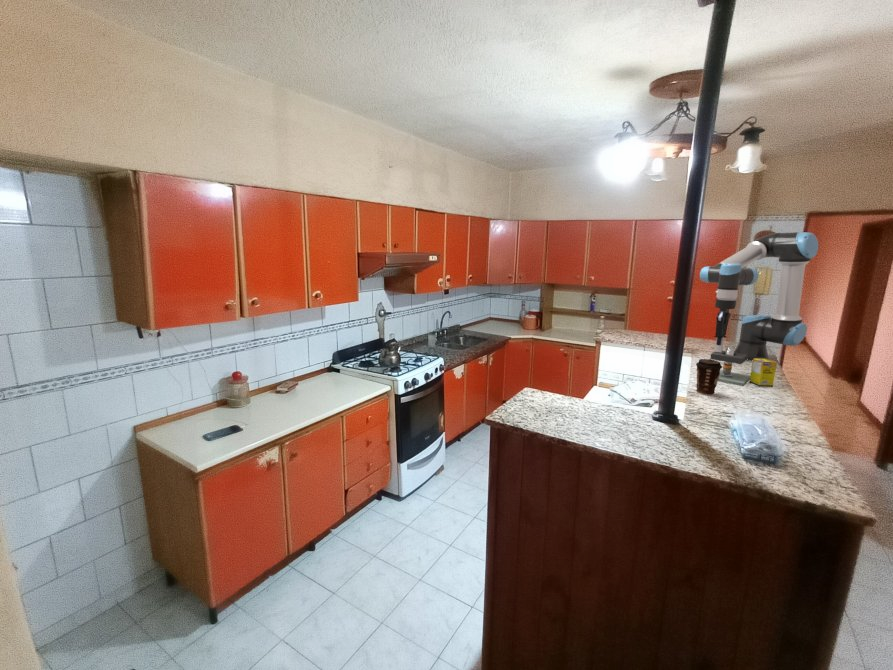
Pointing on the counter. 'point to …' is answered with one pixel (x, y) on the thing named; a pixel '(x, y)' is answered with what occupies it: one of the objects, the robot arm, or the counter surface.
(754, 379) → the supplement box
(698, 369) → the coffee cup
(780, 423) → the counter surface
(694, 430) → the counter surface
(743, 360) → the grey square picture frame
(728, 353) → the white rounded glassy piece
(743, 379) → the base board
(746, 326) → the robot arm
